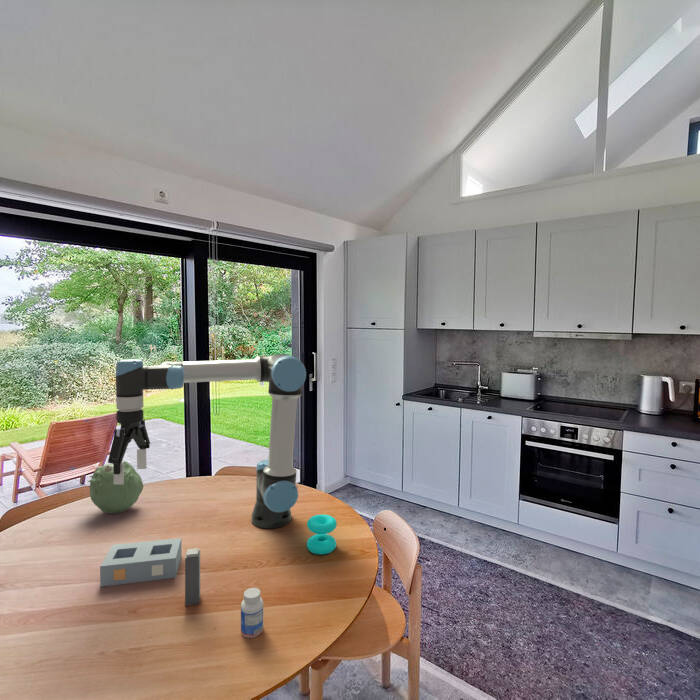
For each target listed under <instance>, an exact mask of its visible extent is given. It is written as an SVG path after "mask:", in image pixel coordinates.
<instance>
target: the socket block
mask: <svg viewBox="0 0 700 700" xmlns="http://www.w3.org/2000/svg"><path fill="white" fill-rule="evenodd" d="M182 551H183V550H182V538H181V537H179V538H170V539H167V538H166V539H159V540H148V541H138V542H127V543H118V544H112V546H111V547H110V548H109V550H108V552H107V554H106V556H105V557H104V559H103V560H102V562H101V564H100V565H99V575H100V577H99V579H100V580H99V582H100V583H99V585H100V587H101V588H103V587H110V586H119V585H126V584H128V585H129V584H134V583H143V582H145V583H146V582H151V581H160V580H167V579H176V578H177V576H178V575H177V574H178V571H179V566H180V563H181V559H182Z"/></svg>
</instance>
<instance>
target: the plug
mask: <svg viewBox="0 0 700 700" xmlns="http://www.w3.org/2000/svg"><path fill="white" fill-rule="evenodd" d="M200 599H201V549H199V547H197V548H188V549H187V551H186V553H185V557H184V606H186V607H188V606H191V605H199V604H200V601H201V600H200Z"/></svg>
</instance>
